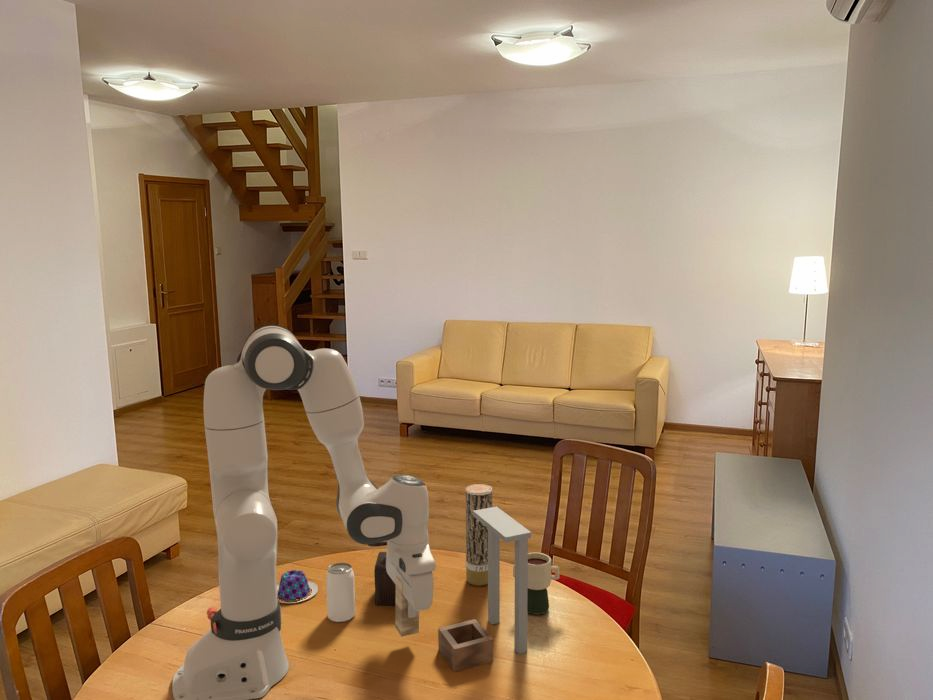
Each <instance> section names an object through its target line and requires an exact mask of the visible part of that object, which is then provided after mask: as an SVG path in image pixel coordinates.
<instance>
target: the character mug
mask: <svg viewBox="0 0 933 700" xmlns="http://www.w3.org/2000/svg"><path fill="white" fill-rule="evenodd" d="M552 571H554V572H555V573H554V574H552ZM512 574H513V578H514V579H515V564H514V565H513V568H512ZM559 579H560V567H559V566H557V565H552V558H551V556H549V555H548V554H547V553H546V554H545V553H542V552H529V553H528V591H527V613H529V614H532V615H541V614H544V613H546V612H547V611H548V610H549V608H550V602H549V601H550V600H549V595H548V593H549V592H548V589H547V588H549V587H550V585H551V582H552V580H559Z"/></svg>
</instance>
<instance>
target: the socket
mask: <svg viewBox="0 0 933 700" xmlns="http://www.w3.org/2000/svg"><path fill="white" fill-rule="evenodd" d="M437 632H438V633H437V634H438V636H437V639H438V640H437V641H438V644H437V645H438V651H439V652H440V654H441V655H442V656H443V658H444V659H445V661H446V662H447V663H448V665H449V666H450V668H451V669H452V671H454V672H456V673H457V672H458V671H462V670H466V669H470V668H473V667H477V666H481V665H484V664H489V663H491V662H494V639H493V638H492V636H491V635H490V633H488V631H486V630H485V628H484V627H483V626H482V625H481V623H479V622H478V620H477V619H476V618H474V619H469V620H465V621H461V622H458V623H453V624H450V625H446V626H445V625H444V626H441V627H438V630H437Z"/></svg>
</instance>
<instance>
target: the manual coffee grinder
mask: <svg viewBox="0 0 933 700" xmlns="http://www.w3.org/2000/svg"><path fill="white" fill-rule="evenodd" d="M367 546H369V547H372V548H373V547H375V548H376V547H383V546H387V541H384V542H380V543H375V544H370V545H367ZM386 554H387V551H379V552H378V554H377V558H376V561H375V564H374V572H373V573H374V576H373V577H374V593H375V594H374V605H375V606H378V607H396V584H395V583H394V582H393V580H392V579H391V578H390V576H389V575H388V573H387V571H386Z"/></svg>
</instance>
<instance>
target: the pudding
mask: <svg viewBox="0 0 933 700" xmlns="http://www.w3.org/2000/svg"><path fill="white" fill-rule="evenodd" d="M310 588H311V589H312V593H311V591H310V590H311V589H310ZM277 590H278V592H277V598H278V597H279V598H283V599H284V600H290V601H294V600H295V601H297V600H296V599H300V601H297V602H282V601H280V600H281V599H280V600H278V601H279V604H280V603H281V604H296V603H300V602H304V601H306V600H309V599H312V597H314V596H316V594H317V593H318V591H319V587H318V585H317V584H316V583H315V582H313V581H310V580H308V578H307V575H306V573H305V572H303V570H298V569H293V570H287V571H285V573H282V575H281V576H280V580H279V584H277ZM310 593H311V595H310V596H308V594H310ZM306 596H308V597H307V598H306ZM302 597H303V598H302ZM279 598H278V599H279ZM304 598H306V599H304ZM283 599H282V600H283ZM301 599H303V600H301ZM284 600H283V601H284Z"/></svg>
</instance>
